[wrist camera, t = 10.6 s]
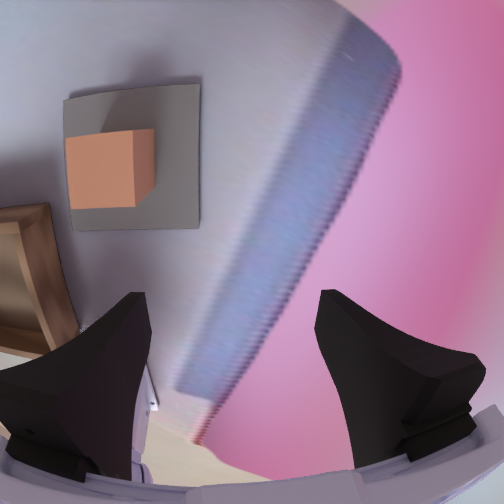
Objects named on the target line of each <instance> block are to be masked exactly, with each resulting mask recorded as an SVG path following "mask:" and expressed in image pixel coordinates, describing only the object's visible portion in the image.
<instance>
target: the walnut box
mask: <svg viewBox="0 0 504 504" xmlns="http://www.w3.org/2000/svg"><path fill="white" fill-rule="evenodd" d="M80 333H81V332H80V329H79V326H78V323H77V320H76V317H75V314H74V311H73V308H72V305H71V301H70V298H69V295H68V291H67V287H66V284H65V280H64V276H63V272H62V268H61V264H60V260H59V255H58V251H57V246H56V241H55V236H54V231H53V225H52V219H51V213H50V206H49V203H43V204H33V205H23V206H15V207H6V208H0V352H3V353H8V354H12V355H16V356H21V357H25V358H30V359H36V358H38V357H41V356H43V355H45V354H47V353H49V352H51V351H53V350H55V349H56V348H58V347H60V346H62V345H64V344H65V343H67V342H69V341H70V340H72V339H73V338H75V337H76V336H78V335H79V334H80Z"/></svg>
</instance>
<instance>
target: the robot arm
mask: <svg viewBox="0 0 504 504" xmlns="http://www.w3.org/2000/svg"><path fill="white" fill-rule="evenodd" d="M314 330H315V333H316V338H317V341H318V345H319V348H320V351H321V353H322V356H323V358H324V360H325V363H326V365H327V367H328V369H329V372H330V374H331V377H332V379H333V381H334V384H335V386H336V388H337V391H338V394H339V397H340V400H341V404H342V407H343V411H344V415H345V419H346V423H347V427H348V431H349V436H350V442H351V447H352V453H353V459H354V466H355V469H354V470H341V471H334V472H327V473H321V474H316V475H310V476H304V477H298V478H291V479H285V480H275V481H265V482H253V483H234V484H218V485H205V486H201V487H183V486H168V485H157V484H153V479H152V475H151V473H150V471H149V469H148V467H147V466H146V465H145V464H143V463H140V462H141V455H142V454H143V452H144V448H145V441H146V434H147V427H148V421H149V414H150V410H154V411H156V410H158V409H159V405H158V402H157V399H156V396H155V393H154V389H153V386H152V383H151V379H150V376H149V372H148V369H147V365H146V361H147V358H148V354H149V348H150V341H151V334H152V331H151V326H150V321H149V315H148V310H147V304H146V298H145V292H130V293H129V294H127V295H126V296H125V297H124V298H123V299H122V300H121V301H119V302H118V303H117V304H116V305H115V306H114V307H113V308H112V309H110V310H109V311H108V312H107V313H106V314H105V315H104V316H102V317H101V318H100V319H99V320H97V321H96V322H95V323H94V324H92V325H91V326H90V327H89V328H87V329H86V330H85V331H84V332H82V333H81V334H79V335H78V336H76V337H75V338H73V339H72V340H70V341H69V342H67V343H65V344H64V345H62V346H60V347H58V348H56V349H55V350H53V351H51V352H49V353H47V354H45V355H43V356H41V357H38V358H36V359H34V360H31V361H29V362H26V363H23V364H20V365H17V366H14V367H10V368H7V369H3V370H0V422H1V423H2V424H3V425H4V426H5V427H6V429H7V430H8V431H9V432H10V433H11V436H10V439H9V440H7V439H6V438H5V437H3V436H1V435H0V504H444V503H446V502H448V501H449V500H451V499H453V498H454V497H456V496H458V495H459V494H461V493H463V492H464V491H466V490H467V489H469V488H470V487H472V486H474V485H475V484H477V483H478V482H479V481H481V480H482V479H484V478H485V477H487V476H488V475H489V474H490V473H491V472H493V471H494V470H495V469H496V468H497V467H499V466H500V465H501V464H502V463H503V462H504V417H503V415H502V414H501V412H500V411H499V410H498V408H497V406H496V405H495V404H494V405H491V406H490V407H488V408H486V409H484V410H482V411H481V412H479V413H477V414H476V415H475V416H474V417H473V418H472V417H471V416H470V414H469V412H470V411H471V410H472V407H471V406H470V404H469V403H468V402H469V401H470V399H471V398H472V397H473V395H474V394H475V392H476V391H477V389H478V388H479V386H480V385H481V383H482V382H483V380H484V377H485V374H486V368H485V366H484V365H483V364H482V362H481V361H480V360H479V359H478V357H477V356H476V355H475V354H472V353H466V352H461V351H456V350H451V349H447V348H444V347H440V346H437V345H434V344H431V343H428V342H425V341H422V340H420V339H417V338H415V337H413V336H411V335H408V334H406V333H404V332H402V331H400V330H398V329H396V328H394V327H392V326H391V325H389V324H387V323H386V322H384V321H382V320H381V319H379V318H377V317H376V316H374V315H373V314H371V313H370V312H368V311H367V310H365V309H364V308H362V307H361V306H359V305H358V304H356V303H355V302H354V301H352V300H351V299H349V298H348V297H346V296H345V295H344V294H342V293H341V292H339V291H337V290H335V289H330V290H321V296H320V301H319V306H318V312H317V317H316V322H315V327H314Z"/></svg>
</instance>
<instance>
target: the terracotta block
mask: <svg viewBox="0 0 504 504" xmlns="http://www.w3.org/2000/svg"><path fill="white" fill-rule="evenodd" d="M66 160H67V175H68V187H69V196H70V205H71V209H88V208H111V207H136V206H137V205H138V203H139V202H140V201H141V200H142V199H143V198H144V197H145V196H146V195H147V194H148V193H149V192H150V191H151V190H152V189H153V188H154V187H155V169H154V129H141V130H128V131H117V132H108V133H99V134H91V135H84V136H77V137H70V138H66Z"/></svg>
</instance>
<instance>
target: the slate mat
mask: <svg viewBox="0 0 504 504" xmlns="http://www.w3.org/2000/svg"><path fill="white" fill-rule="evenodd" d="M199 109H200V84H182V85H165V86H152V87H142V88H133V89H125V90H117V91H110V92H104V93H98V94H92V95H87V96H81V97H76V98H72V99H67V100H64V106H63V130H64V156H65V171H66V182H67V192H68V200H69V208H70V215H71V222H72V228H73V231H100V230H139V229H199ZM141 129H154V169H155V187H154V188H153V189H152V190H151V191H150V192H149V193H148V194H147V195H146V196H145V197H144V198H143V199H142V200H141V201H140V202H139V203H138V205H137V206H136V207H111V208H88V209H71V205H70V196H69V187H68V175H67V160H66V138H70V137H77V136H84V135H91V134H99V133H108V132H117V131H128V130H141Z"/></svg>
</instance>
